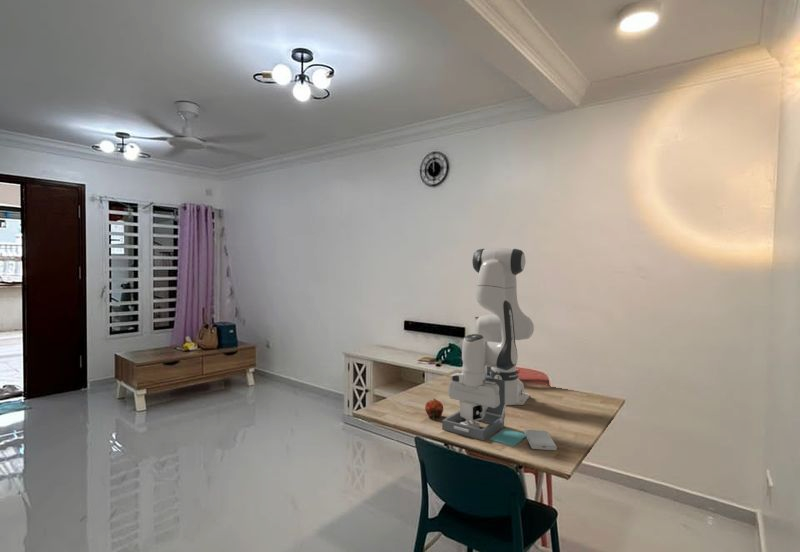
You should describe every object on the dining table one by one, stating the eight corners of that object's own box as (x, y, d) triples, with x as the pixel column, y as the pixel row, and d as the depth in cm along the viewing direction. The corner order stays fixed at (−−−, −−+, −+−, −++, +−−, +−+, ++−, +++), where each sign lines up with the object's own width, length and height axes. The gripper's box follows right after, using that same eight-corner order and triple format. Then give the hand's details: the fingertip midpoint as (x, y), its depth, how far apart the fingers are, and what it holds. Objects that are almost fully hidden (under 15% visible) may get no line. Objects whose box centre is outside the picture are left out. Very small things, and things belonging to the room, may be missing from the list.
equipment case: (465, 416, 175) (465, 373, 174) (507, 426, 164) (507, 380, 163) (441, 429, 160) (441, 383, 160) (484, 442, 149) (484, 392, 149)
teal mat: (504, 429, 160) (504, 428, 160) (527, 435, 155) (527, 434, 155) (489, 440, 151) (489, 438, 151) (513, 446, 145) (513, 445, 145)
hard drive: (524, 429, 155) (531, 444, 143) (547, 430, 155) (556, 445, 142) (524, 433, 155) (531, 449, 143) (547, 435, 155) (556, 450, 142)
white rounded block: (471, 432, 158) (471, 405, 158) (458, 426, 164) (458, 400, 163) (483, 428, 162) (483, 402, 161) (470, 422, 167) (470, 397, 167)
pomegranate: (443, 425, 171) (447, 404, 178) (439, 414, 166) (442, 393, 174) (425, 425, 173) (430, 404, 181) (421, 414, 169) (425, 393, 177)
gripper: (502, 380, 158) (502, 418, 158) (454, 372, 170) (454, 406, 171) (495, 384, 153) (495, 423, 153) (446, 375, 165) (446, 411, 166)
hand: (473, 414), depth 162 cm, fingers closed on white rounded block, 6 cm apart
